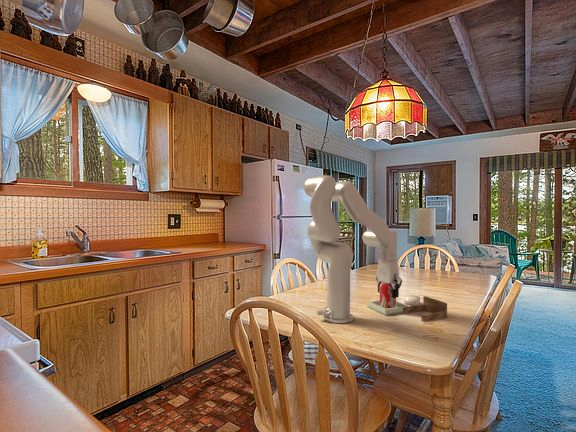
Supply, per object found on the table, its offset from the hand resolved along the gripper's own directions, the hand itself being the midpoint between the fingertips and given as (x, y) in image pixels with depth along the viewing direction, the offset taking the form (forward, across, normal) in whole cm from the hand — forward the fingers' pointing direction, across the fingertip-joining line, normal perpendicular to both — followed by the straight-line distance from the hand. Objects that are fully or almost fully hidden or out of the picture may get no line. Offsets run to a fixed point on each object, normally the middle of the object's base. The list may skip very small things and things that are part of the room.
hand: (387, 294), depth 149 cm
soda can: (+6, 0, 0) cm, 6 cm away
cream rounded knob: (+7, -3, +17) cm, 19 cm away
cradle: (+7, +12, +9) cm, 16 cm away
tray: (+7, 0, 0) cm, 7 cm away
